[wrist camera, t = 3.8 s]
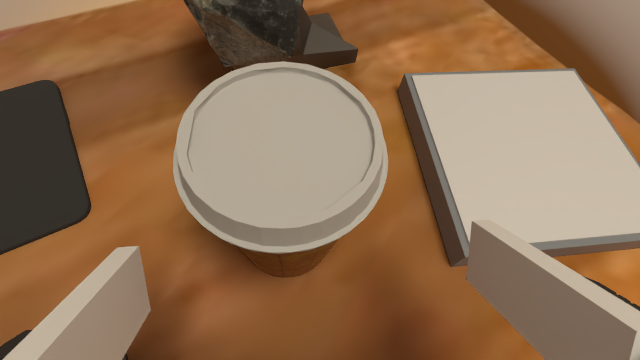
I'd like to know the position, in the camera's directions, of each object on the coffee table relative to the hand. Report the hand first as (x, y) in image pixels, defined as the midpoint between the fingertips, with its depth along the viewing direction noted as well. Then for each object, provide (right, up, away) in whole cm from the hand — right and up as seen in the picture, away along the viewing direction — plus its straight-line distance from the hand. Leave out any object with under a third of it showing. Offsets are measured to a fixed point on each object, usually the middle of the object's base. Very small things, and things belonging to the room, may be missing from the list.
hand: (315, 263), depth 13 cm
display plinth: (+17, +5, +16) cm, 24 cm away
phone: (-23, +5, +13) cm, 27 cm away
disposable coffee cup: (-2, -1, +11) cm, 12 cm away
